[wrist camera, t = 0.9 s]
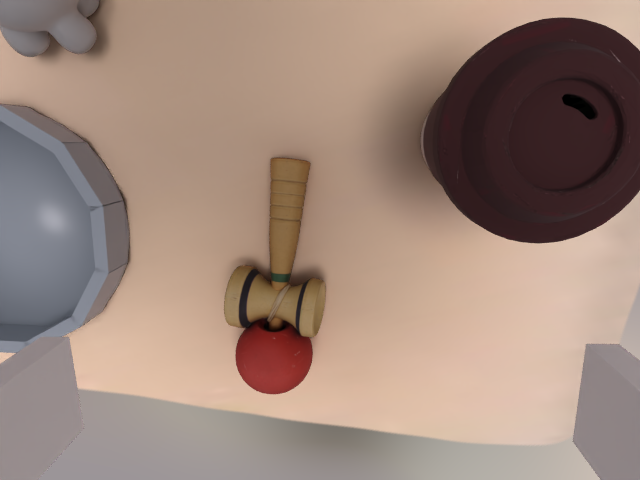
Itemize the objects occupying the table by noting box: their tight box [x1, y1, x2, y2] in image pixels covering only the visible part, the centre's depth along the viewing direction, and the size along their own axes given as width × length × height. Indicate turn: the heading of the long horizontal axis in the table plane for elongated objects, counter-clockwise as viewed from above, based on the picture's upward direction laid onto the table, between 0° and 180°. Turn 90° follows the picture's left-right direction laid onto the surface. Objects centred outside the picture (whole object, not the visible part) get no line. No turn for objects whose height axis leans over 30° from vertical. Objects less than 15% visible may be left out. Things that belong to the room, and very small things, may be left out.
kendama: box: [224, 158, 326, 394], centre depth 34 cm, size 8×6×18 cm
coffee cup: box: [421, 18, 640, 243], centre depth 25 cm, size 10×10×15 cm
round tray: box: [0, 104, 129, 353], centre depth 34 cm, size 19×19×4 cm
